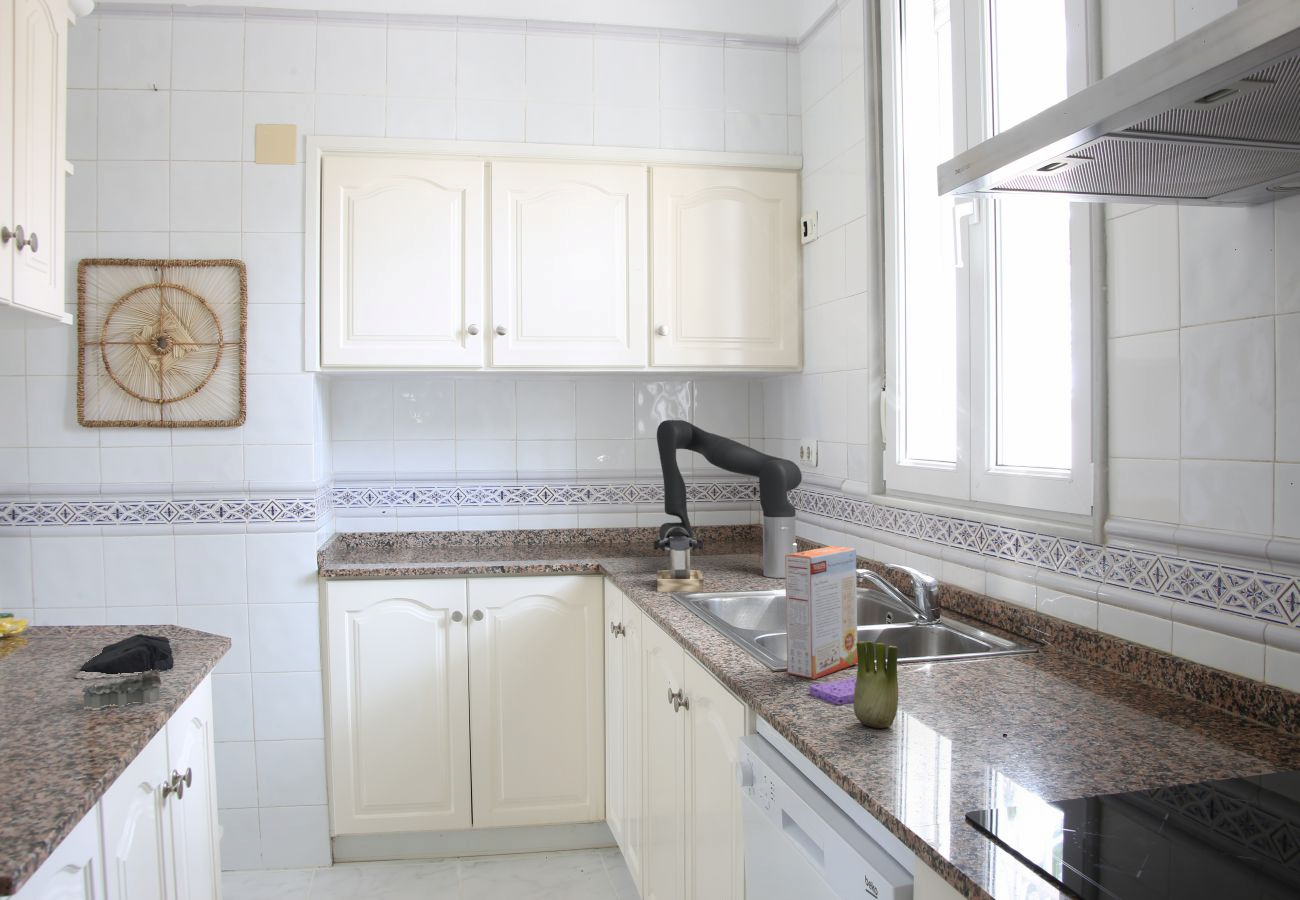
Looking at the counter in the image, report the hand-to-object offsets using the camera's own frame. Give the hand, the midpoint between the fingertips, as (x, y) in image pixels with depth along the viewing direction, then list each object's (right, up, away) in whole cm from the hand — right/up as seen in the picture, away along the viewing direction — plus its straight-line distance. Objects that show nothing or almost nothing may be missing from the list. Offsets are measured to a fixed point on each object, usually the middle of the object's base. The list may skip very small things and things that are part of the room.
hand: (678, 547), depth 251 cm
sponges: (+24, -12, -109) cm, 112 cm away
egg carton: (-91, -13, -111) cm, 144 cm away
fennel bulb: (+24, -12, -124) cm, 127 cm away
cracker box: (+22, -11, -94) cm, 98 cm away
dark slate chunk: (-104, -13, -86) cm, 136 cm away
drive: (0, -8, -10) cm, 13 cm away
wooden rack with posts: (0, -9, -10) cm, 14 cm away
